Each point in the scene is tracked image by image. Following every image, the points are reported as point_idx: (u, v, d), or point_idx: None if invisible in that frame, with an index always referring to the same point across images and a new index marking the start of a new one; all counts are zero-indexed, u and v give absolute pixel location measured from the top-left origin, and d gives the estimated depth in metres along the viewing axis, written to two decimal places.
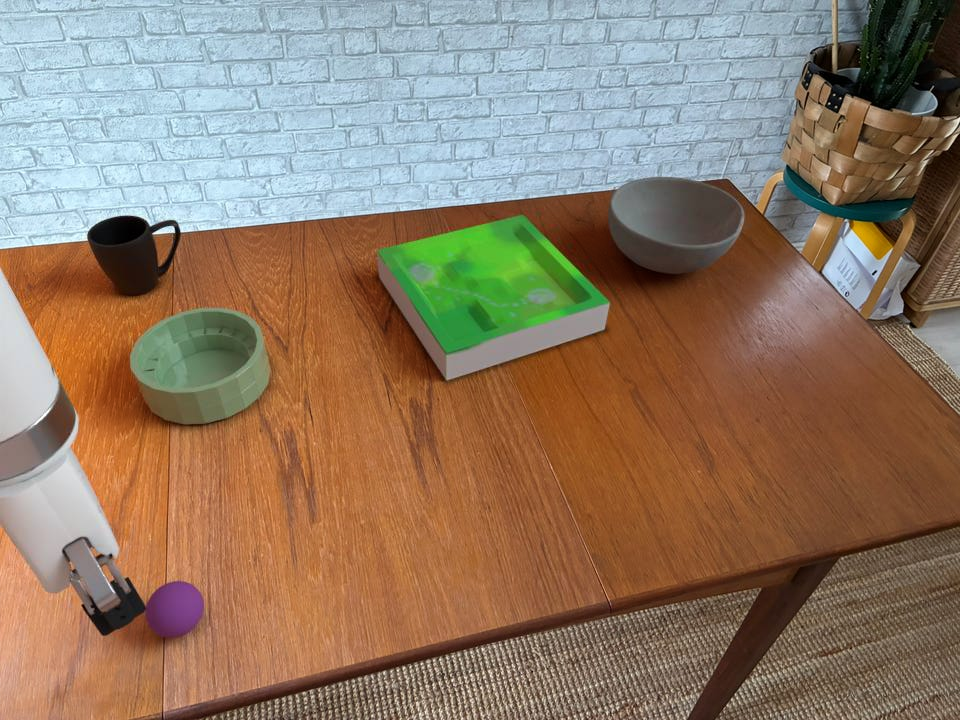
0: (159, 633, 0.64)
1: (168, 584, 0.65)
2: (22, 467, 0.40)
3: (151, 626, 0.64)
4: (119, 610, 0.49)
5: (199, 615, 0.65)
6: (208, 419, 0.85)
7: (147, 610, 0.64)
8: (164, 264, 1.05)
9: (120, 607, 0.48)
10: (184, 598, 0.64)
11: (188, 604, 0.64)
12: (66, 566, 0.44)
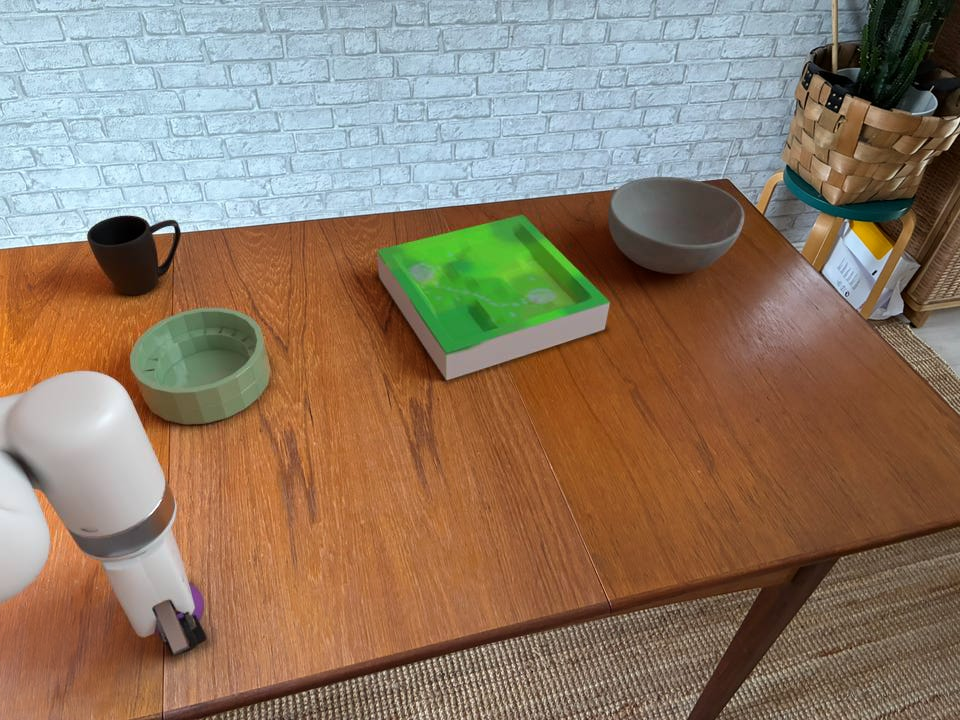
0: None
1: None
2: (131, 548, 0.53)
3: None
4: (186, 639, 0.63)
5: (199, 615, 0.65)
6: (208, 419, 0.85)
7: None
8: (164, 264, 1.05)
9: (187, 637, 0.63)
10: None
11: None
12: (153, 619, 0.57)
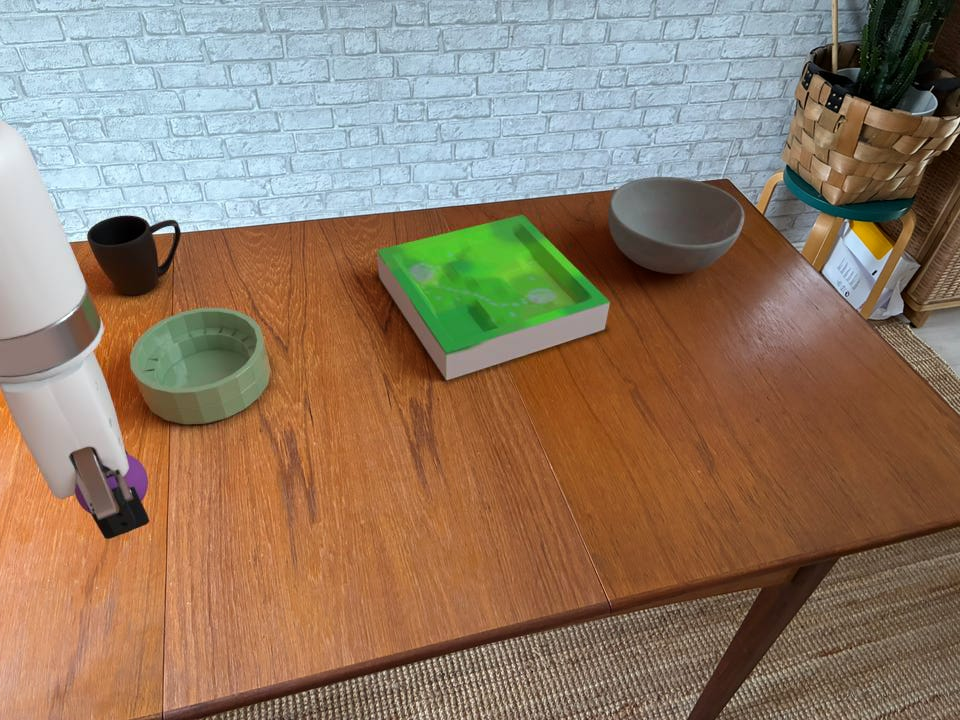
0: None
1: None
2: (37, 366, 0.41)
3: (80, 501, 0.52)
4: (121, 516, 0.51)
5: (141, 492, 0.54)
6: (208, 419, 0.85)
7: None
8: (164, 264, 1.05)
9: (122, 513, 0.51)
10: None
11: (126, 476, 0.52)
12: (72, 473, 0.45)
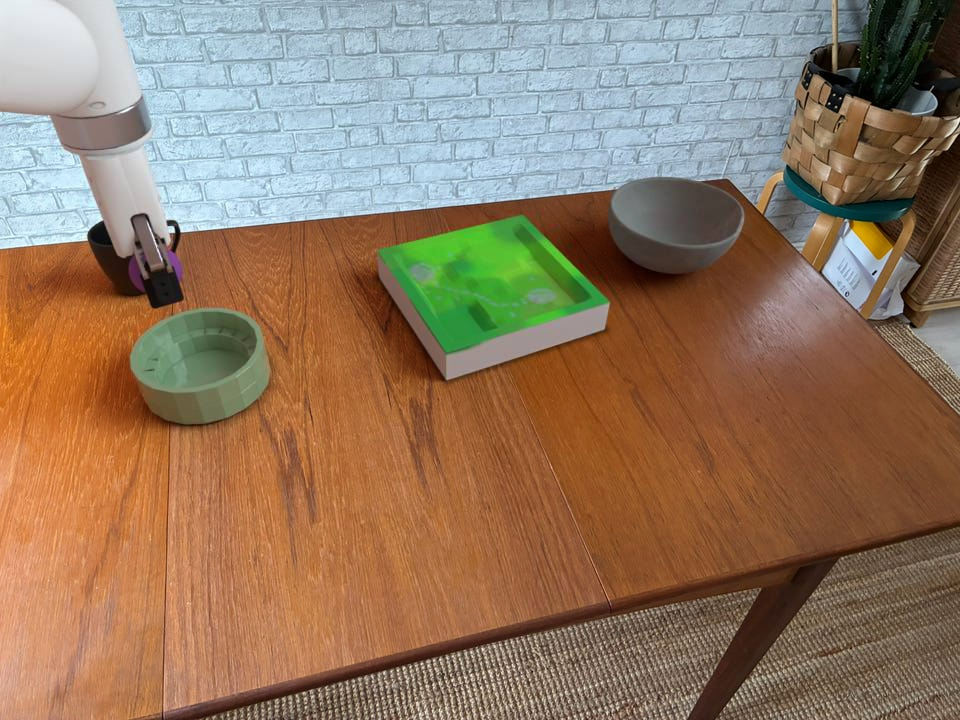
0: (141, 284, 0.70)
1: None
2: (110, 142, 0.59)
3: (133, 277, 0.70)
4: (164, 286, 0.69)
5: (178, 275, 0.71)
6: (208, 419, 0.85)
7: (130, 263, 0.70)
8: None
9: (165, 284, 0.69)
10: None
11: None
12: (132, 234, 0.63)
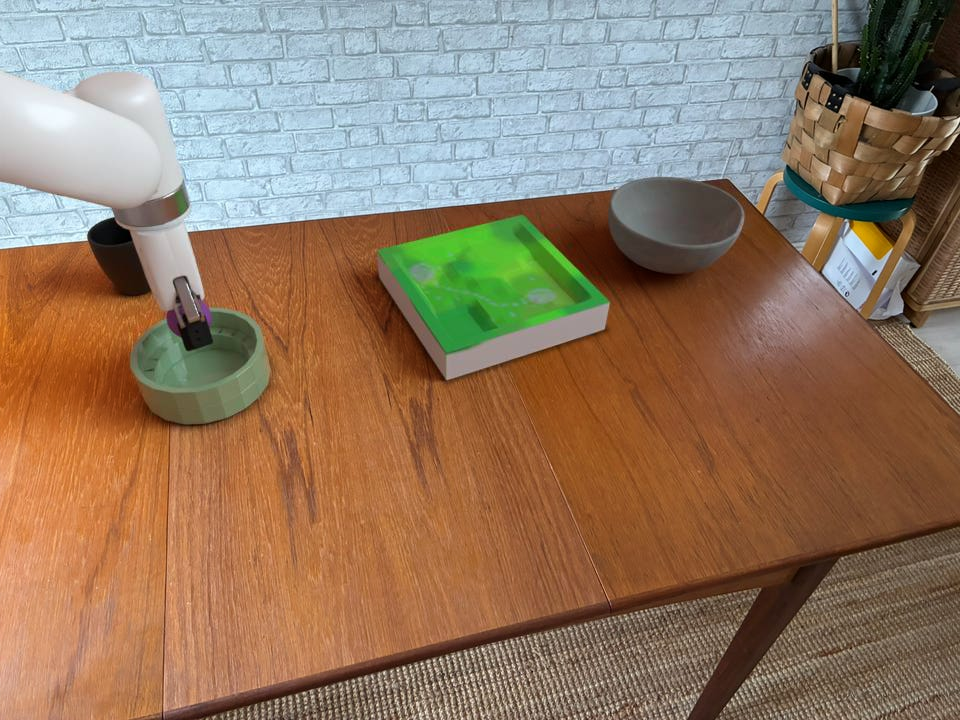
0: (177, 330, 0.82)
1: None
2: (158, 220, 0.71)
3: (171, 324, 0.82)
4: (197, 333, 0.81)
5: (208, 321, 0.83)
6: (208, 419, 0.85)
7: (168, 313, 0.82)
8: None
9: (198, 331, 0.81)
10: None
11: None
12: (173, 292, 0.75)
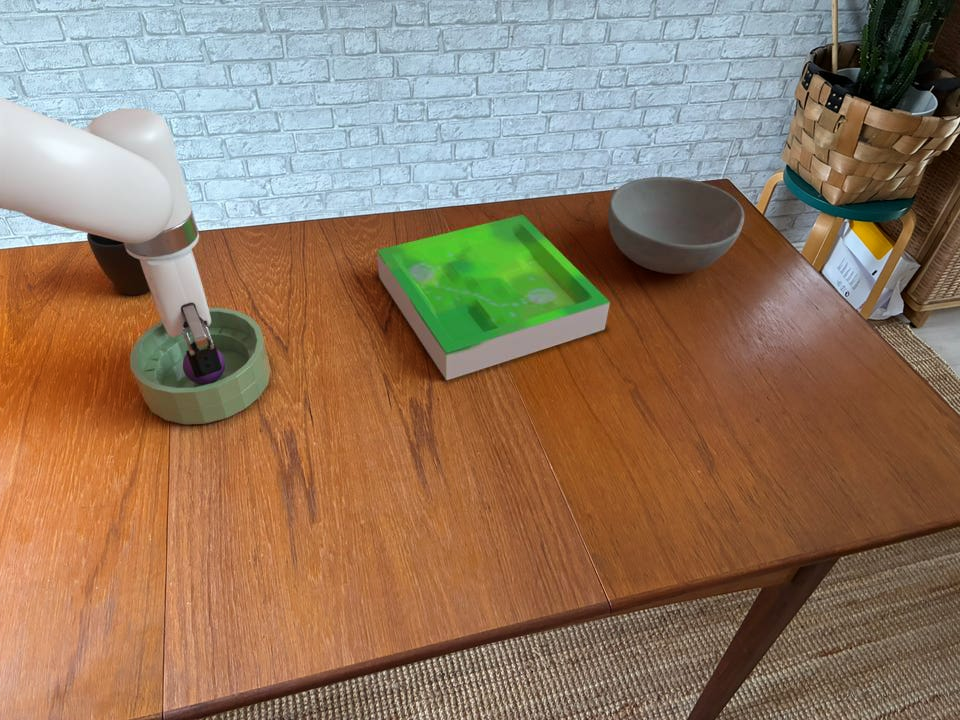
0: (193, 377, 0.87)
1: None
2: (167, 250, 0.73)
3: (187, 372, 0.87)
4: (206, 360, 0.82)
5: (222, 368, 0.89)
6: (208, 419, 0.85)
7: (184, 361, 0.87)
8: None
9: (207, 358, 0.81)
10: None
11: None
12: (181, 319, 0.77)
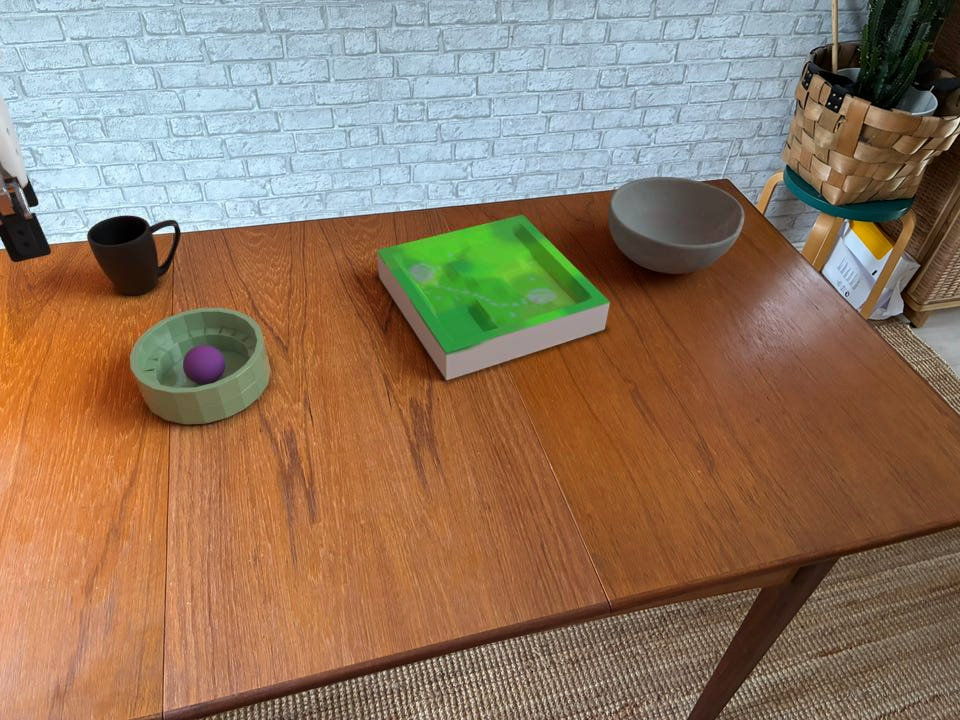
0: (193, 377, 0.87)
1: None
2: None
3: (187, 372, 0.87)
4: (23, 235, 0.61)
5: (222, 368, 0.89)
6: (208, 419, 0.85)
7: (184, 361, 0.87)
8: (164, 264, 1.05)
9: (23, 232, 0.61)
10: (211, 353, 0.88)
11: (214, 357, 0.88)
12: None
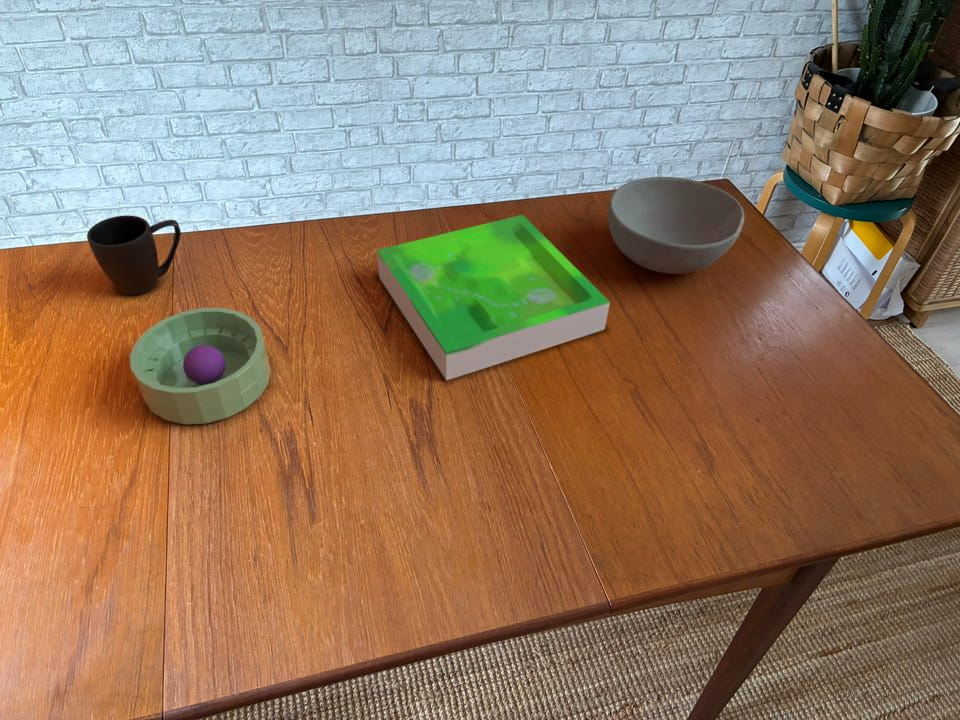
0: (193, 377, 0.87)
1: (200, 345, 0.89)
2: None
3: (187, 371, 0.87)
4: None
5: (222, 368, 0.89)
6: (208, 419, 0.85)
7: (185, 360, 0.87)
8: (164, 264, 1.05)
9: None
10: (212, 353, 0.88)
11: (215, 357, 0.88)
12: None
